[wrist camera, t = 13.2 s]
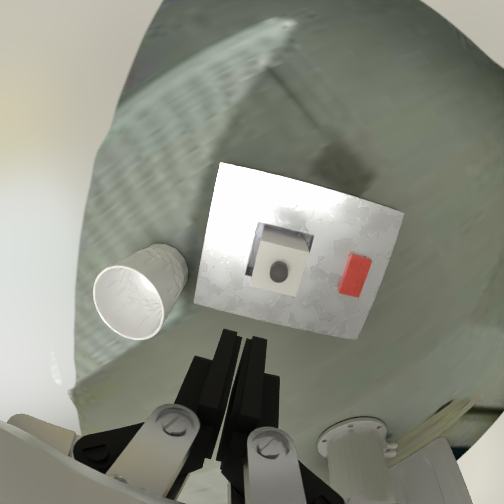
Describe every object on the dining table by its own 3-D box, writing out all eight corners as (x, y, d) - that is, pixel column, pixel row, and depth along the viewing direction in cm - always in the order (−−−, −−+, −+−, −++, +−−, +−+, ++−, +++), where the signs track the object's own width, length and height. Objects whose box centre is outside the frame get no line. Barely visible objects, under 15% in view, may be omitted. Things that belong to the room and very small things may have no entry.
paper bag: (471, 429, 41) (511, 518, 14) (443, 465, 45) (469, 545, 18) (403, 444, 42) (433, 557, 15) (378, 478, 46) (394, 574, 20)
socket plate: (396, 209, 30) (407, 214, 27) (352, 330, 35) (357, 344, 32) (224, 162, 31) (218, 162, 28) (198, 294, 35) (191, 306, 32)
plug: (304, 236, 32) (310, 256, 25) (293, 274, 33) (296, 302, 26) (264, 226, 32) (259, 243, 25) (254, 264, 33) (248, 291, 26)
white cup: (173, 227, 33) (134, 251, 24) (205, 284, 35) (179, 327, 25) (125, 254, 35) (80, 283, 25) (155, 306, 37) (121, 348, 27)
